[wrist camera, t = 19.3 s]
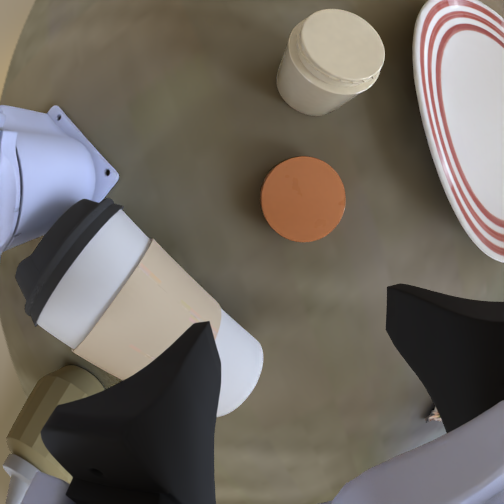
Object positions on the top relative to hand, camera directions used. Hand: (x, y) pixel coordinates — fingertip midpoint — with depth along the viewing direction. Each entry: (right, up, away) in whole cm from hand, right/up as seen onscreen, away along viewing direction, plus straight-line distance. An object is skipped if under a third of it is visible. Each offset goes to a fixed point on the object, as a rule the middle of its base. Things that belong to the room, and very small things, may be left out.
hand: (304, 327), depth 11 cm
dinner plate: (+23, +16, +7) cm, 29 cm away
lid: (+1, +6, +8) cm, 10 cm away
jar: (+2, +15, +7) cm, 17 cm away
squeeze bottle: (-20, -11, +13) cm, 26 cm away
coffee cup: (-4, -6, +9) cm, 11 cm away
